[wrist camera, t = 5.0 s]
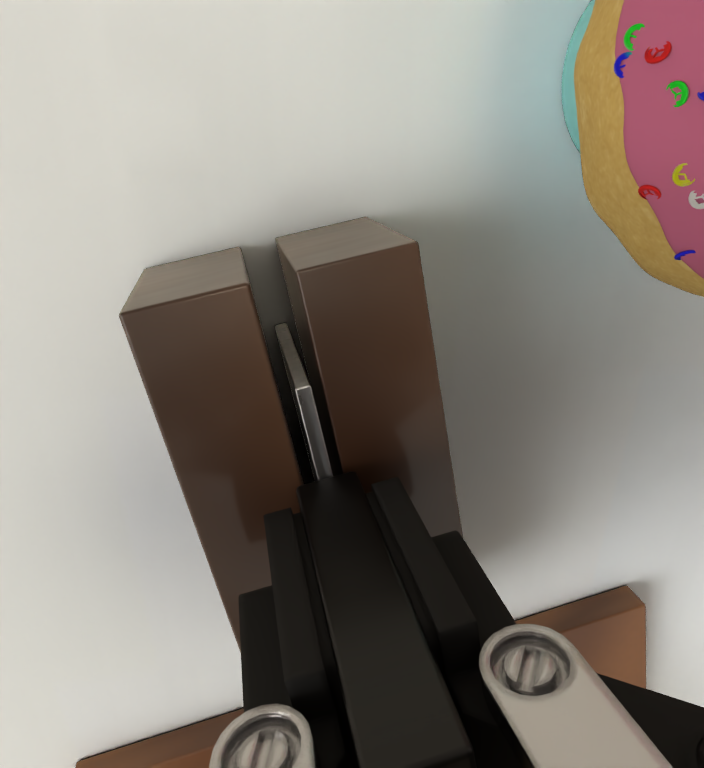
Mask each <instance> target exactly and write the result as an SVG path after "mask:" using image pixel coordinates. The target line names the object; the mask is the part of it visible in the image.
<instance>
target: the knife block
mask: <svg viewBox="0 0 704 768" xmlns="http://www.w3.org/2000/svg"><path fill="white" fill-rule="evenodd" d="M275 241H276V245H277V249H278V253H279V258H280V262H281V266H282V270H283V274H284V278H285V282H286V286H287V290H288V295H289V299H290V303H291V307H292V311H293V315H294V319H295V323H296V327H297V332H298V336H299V340H300V344H301V348H302V352H303V356H304V360H305V364H306V368H307V373H308V377H309V381H310V385H311V388H312V392H313V396H314V400H315V404H316V408H317V413H318V417H319V421H320V425H321V429H322V433H323V437H324V441H325V445H326V449H327V454H328V458H329V462H330V466H331V470H332V474H333V476H336V475H340V474H343V473H347V472H350V471H354V472H356V474H357V475H358V477H359V480H360V482H361V484H362V487H363V489H364V492H365V494H366V493H369V492H372V490H371V484H374V483H377V482H381V481H384V480H388V479H391V478H395V477H398V478H399V479H400V481H401V483H402V484H403V486H404V488H405V490H406V492H407V494H408V495H409V497H410V499H411V501H412V503H413V505H414V506H415V508H416V510H417V512H418V514H419V516H420V518H421V519H422V521H423V523H424V525H425V527H426V529H427V530H428V532H429V534H430V536H431V537H434V536H438V535H441V534H444V533H448V532H451V531H455V530H456V531H458V532H459V533H460V535H461V536H462V537H463V535H462V528H461V521H460V515H459V508H458V502H457V495H456V488H455V482H454V475H453V469H452V462H451V455H450V449H449V442H448V436H447V429H446V422H445V416H444V409H443V403H442V396H441V390H440V383H439V376H438V370H437V363H436V357H435V350H434V343H433V337H432V330H431V324H430V317H429V310H428V304H427V297H426V291H425V284H424V277H423V271H422V264H421V258H420V251H419V244H418V242H417V241H415V240H413V239H411V238H409V237H406V236H404V235H402V234H400V233H398V232H396V231H394V230H392V229H390V228H388V227H386V226H384V225H382V224H380V223H378V222H376V221H374V220H372V219H370V218H368V217H363V218H358V219H354V220H350V221H346V222H341V223H337V224H333V225H328V226H324V227H320V228H316V229H311V230H307V231H303V232H299V233H294V234H290V235H286V236H282V237H277V238H276V239H275ZM119 318H120V320H121V323H122V326H123V329H124V331H125V334H126V337H127V340H128V342H129V345H130V348H131V351H132V353H133V356H134V359H135V362H136V365H137V367H138V370H139V373H140V376H141V378H142V381H143V384H144V387H145V389H146V392H147V395H148V398H149V400H150V403H151V406H152V409H153V412H154V414H155V417H156V420H157V423H158V425H159V428H160V431H161V434H162V436H163V439H164V442H165V445H166V447H167V450H168V453H169V456H170V458H171V461H172V464H173V467H174V470H175V472H176V475H177V478H178V481H179V483H180V486H181V489H182V492H183V494H184V497H185V500H186V503H187V505H188V508H189V511H190V514H191V517H192V519H193V522H194V525H195V528H196V530H197V533H198V536H199V539H200V541H201V544H202V547H203V550H204V552H205V555H206V558H207V561H208V563H209V566H210V569H211V572H212V575H213V577H214V580H215V583H216V586H217V588H218V591H219V594H220V597H221V599H222V602H223V605H224V608H225V610H226V613H227V616H228V619H229V622H230V624H231V627H232V630H233V633H234V635H235V638H236V641H237V644H238V646H239V649H240V652H241V643H240V623H239V595H240V594H244V593H247V592H250V591H254V590H257V589H261V588H264V587H267V586H271V585H272V580H271V572H270V565H269V557H268V549H267V541H266V533H265V526H264V517H263V516H264V515H265V514H269V513H272V512H276V511H279V510H283V509H286V508H290V507H291V509H292V512H293V514H296V513H300V512H301V511H300V507H299V502H298V498H297V493H296V490H297V487H299V486H301V485H304V483H303V479H302V476H301V472H300V468H299V464H298V461H297V457H296V453H295V449H294V446H293V442H292V438H291V434H290V431H289V427H288V423H287V419H286V416H285V412H284V408H283V404H282V401H281V397H280V393H279V389H278V386H277V382H276V378H275V374H274V371H273V367H272V363H271V360H270V356H269V352H268V348H267V345H266V341H265V337H264V333H263V330H262V326H261V322H260V318H259V315H258V311H257V307H256V303H255V300H254V296H253V292H252V288H251V285H250V281H249V277H248V273H247V270H246V266H245V262H244V258H243V255H242V251H241V249H240V247H235V248H231V249H227V250H222V251H218V252H214V253H209V254H205V255H201V256H197V257H192V258H188V259H184V260H180V261H175V262H171V263H167V264H162V265H158V266H154V267H150V268H146V269H144V271H143V273H142V274H141V276H140V278H139V280H138V282H137V283H136V285H135V287H134V289H133V290H132V292H131V294H130V296H129V298H128V299H127V301H126V303H125V305H124V306H123V308H122V310H121V312H120V314H119Z"/></svg>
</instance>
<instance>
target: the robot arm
mask: <svg viewBox="0 0 704 768" xmlns="http://www.w3.org/2000/svg"><path fill="white" fill-rule="evenodd" d="M371 490H372V492H369V493H366V496H367V499H368V501H369V503H370V506H371V508H372V510H373V513H374V515H375V517H376V520H377V522H378V525H379V527H380V529H381V532H382V534H383V536H384V539H385V541H386V543H387V546H388V548H389V550H390V553H391V555H392V558H393V560H394V562H395V565H396V567H397V569H398V572H399V574H400V576H401V579H402V581H403V583H404V586H405V588H406V591H407V593H408V595H409V598H410V600H411V602H412V605H413V607H414V609H415V612H416V614H417V616H418V619H419V621H420V623H421V626H422V628H423V631H424V633H425V635H426V638H427V640H428V642H429V645H430V647H431V649H432V652H433V654H434V656H435V659H436V661H437V664H438V666H439V668H440V671H441V673H442V675H443V678H444V680H445V682H446V685H447V687H448V689H449V692H450V694H451V697H452V699H453V701H454V704H455V706H456V708H457V711H458V713H459V715H460V718H461V720H462V722H463V725H464V727H465V730H466V732H467V734H468V737H469V739H470V741H471V744H472V746H473V749H474V755H475V761H476V767H477V768H704V708H703V707H700V706H697V705H694V704H691V703H688V702H685V701H682V700H679V699H676V698H672V697H669V696H666V695H663V694H660V693H657V692H654V691H651V690H648V689H645V688H642V687H638V686H635V685H632V684H629V683H626V682H623V681H620V680H617V679H614V678H611V677H607V676H604V675H601V674H598V673H596V672H595V671H594V670H593V668H592V667H591V666H590V665H589V663H588V662H587V661H586V660H585V659H584V657H583V656H582V655H581V654H580V652H579V651H578V650H577V649H576V647H575V646H574V645H573V644H572V643H571V642H570V641H569V640H568V639H567V638H565V637H564V636H563V635H562V634H560V633H558V632H556V631H554V630H552V629H551V628H548V627H544V626H540V625H536V624H516V622H515V621H514V619H513V618H512V616H511V614H510V613H509V611H508V610H507V608H506V606H505V605H504V603H503V602H502V600H501V598H500V597H499V595H498V594H497V592H496V590H495V589H494V587H493V586H492V584H491V582H490V581H489V579H488V578H487V576H486V574H485V573H484V571H483V570H482V568H481V566H480V565H479V563H478V562H477V560H476V558H475V557H474V555H473V554H472V552H471V550H470V549H469V547H468V546H467V544H466V542H465V541H464V539H463V537H462V536H461V535H460V533H459V532H458V531H456V530H455V531H451V532H448V533H444V534H441V535H438V536H434V537H431V536H430V534H429V532H428V530H427V529H426V527H425V525H424V523H423V521H422V519H421V518H420V516H419V514H418V512H417V510H416V508H415V506H414V505H413V503H412V501H411V499H410V497H409V495H408V494H407V492H406V490H405V488H404V486H403V484H402V483H401V481H400V479H399V478H398V477H395V478H391V479H388V480H384V481H381V482H377V483H374V484H371ZM263 517H264V526H265V533H266V541H267V549H268V557H269V565H270V572H271V580H272V585H271V586H267V587H264V588H261V589H257V590H254V591H250V592H247V593H244V594H240V595H239V623H240V643H241V663H242V683H243V703H244V713H243V714H242V715H240V716H239V717H237V718H236V719H235V720H233V721H232V722H231V723H230V724H229V725H228V727H227V728H226V729H225V730H224V731H223V732H222V733H221V735H220V737H219V738H218V740H217V742H216V744H215V746H214V748H213V751H212V755H211V760H210V764H209V768H359V765H358V761H357V757H356V752H355V748H354V743H353V739H352V735H351V730H350V726H349V721H348V717H347V713H346V708H345V704H344V699H343V695H342V691H341V686H340V682H339V678H338V673H337V669H336V664H335V660H334V656H333V651H332V647H331V642H330V638H329V634H328V629H327V625H326V621H325V616H324V612H323V607H322V603H321V599H320V594H319V590H318V585H317V581H316V577H315V572H314V568H313V564H312V559H311V555H310V550H309V546H308V542H307V537H306V533H305V528H304V524H303V520H302V515H301V512H300V513H296V514H293V512H292V509H291V507H290V508H286V509H283V510H279V511H276V512H272V513H269V514H265V515H264V516H263Z"/></svg>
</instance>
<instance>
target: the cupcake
mask: <svg viewBox="0 0 704 768" xmlns="http://www.w3.org/2000/svg"><path fill="white" fill-rule="evenodd" d="M562 106H563V112H564V117H565V122H566V125H567V128H568V131H569V134H570V136H571V138H572V141H573V143H574V144H575V146H576V148H577V150H578V151H579V152H580V154H581V165H582V174H583V182H584V187H585V190H586V194H587V197H588V199H589V201H590V203H591V205H592V207H593V209H594V210H595V212H596V213H597V215H598V216H599V217H600V218H601V219H602V220H603V222H604V223H605V224H606V225H607V226H608V227H609V228H610V229H611V230H612V231H613V233H614V234H615V235H616V236H617V238H618V239H619V240H620V242H621V243H622V244H623V246H624V247H625V249H626V250H627V251H628V253H629V254H630V255H631V257H632V258H633V259H634V260H635V262H636V263H637V264H638V265H639V266H640V267H641V268H642V269H643V270H644V271H645V272H647V273H648V274H649V275H651V276H652V277H654V278H656V279H658V280H660V281H662V282H665V283H667V284H669V285H672V286H674V287H676V288H679V289H681V290H684V291H686V292H689V293H692V294H695V295H699V296H703V297H704V0H592V1H591V2H590V3H589V5H588V6H587V8H586V9H585V11H584V12H583V14H582V16H581V18H580V20H579V21H578V23H577V26H576V28H575V30H574V32H573V34H572V37H571V40H570V43H569V46H568V49H567V53H566V57H565V61H564V67H563V74H562Z"/></svg>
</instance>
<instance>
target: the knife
mask: <svg viewBox="0 0 704 768" xmlns="http://www.w3.org/2000/svg"><path fill="white" fill-rule="evenodd" d="M275 330H276V334H277V337H278V341H279V345H280V349H281V353H282V357H283V361H284V365H285V368H286V372H287V376H288V380H289V384H290V388H291V392H292V396H293V399H294V403H295V407H296V411H297V415H298V419H299V423H300V426H301V430H302V434H303V438H304V442H305V446H306V450H307V454H308V457H309V461H310V465H311V469H312V473H313V477H314V481H315V482H311V483H308V484H304V485H301V486H299V487H297V490H296V493H297V498H298V502H299V507H300V511H301V515H302V520H303V524H304V528H305V533H306V537H307V542H308V546H309V550H310V555H311V559H312V564H313V568H314V572H315V577H316V581H317V585H318V590H319V594H320V599H321V603H322V607H323V612H324V616H325V621H326V625H327V629H328V634H329V638H330V642H331V647H332V651H333V656H334V660H335V664H336V669H337V673H338V678H339V682H340V686H341V691H342V695H343V699H344V704H345V708H346V713H347V717H348V721H349V726H350V730H351V735H352V739H353V743H354V748H355V752H356V757H357V761H358V765H359V768H477V767H476V761H475V755H474V749H473V746H472V744H471V741H470V739H469V737H468V734H467V732H466V730H465V727H464V725H463V722H462V720H461V718H460V715H459V713H458V711H457V708H456V706H455V704H454V701H453V699H452V697H451V694H450V692H449V689H448V687H447V685H446V682H445V680H444V678H443V675H442V673H441V671H440V668H439V666H438V664H437V661H436V659H435V656H434V654H433V652H432V649H431V647H430V645H429V642H428V640H427V638H426V635H425V633H424V631H423V628H422V626H421V623H420V621H419V619H418V616H417V614H416V612H415V609H414V607H413V605H412V602H411V600H410V598H409V595H408V593H407V591H406V588H405V586H404V583H403V581H402V579H401V576H400V574H399V572H398V569H397V567H396V565H395V562H394V560H393V558H392V555H391V553H390V550H389V548H388V546H387V543H386V541H385V539H384V536H383V534H382V532H381V529H380V527H379V525H378V522H377V520H376V517H375V515H374V513H373V510H372V508H371V506H370V503H369V501H368V499H367V496H366V494H365V492H364V489H363V487H362V484H361V482H360V480H359V477H358V475H357V474H356V472H354V471H350V472H347V473H343V474H340V475H336V476H333V474H332V470H331V466H330V462H329V458H328V454H327V449H326V445H325V441H324V437H323V433H322V429H321V425H320V421H319V417H318V413H317V408H316V404H315V400H314V396H313V392H312V388H311V385H310V382H309V379H308V377H307V374H306V372H305V369H304V367H303V364H302V361H301V359H300V356H299V354H298V351H297V349H296V346H295V343H294V341H293V338H292V336H291V333H290V331H289V328H288V325H287V323H283V324H279V325H276V326H275Z"/></svg>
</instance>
